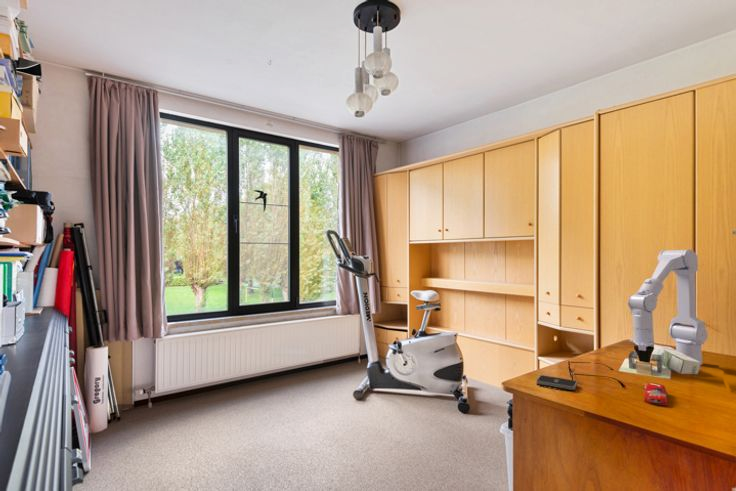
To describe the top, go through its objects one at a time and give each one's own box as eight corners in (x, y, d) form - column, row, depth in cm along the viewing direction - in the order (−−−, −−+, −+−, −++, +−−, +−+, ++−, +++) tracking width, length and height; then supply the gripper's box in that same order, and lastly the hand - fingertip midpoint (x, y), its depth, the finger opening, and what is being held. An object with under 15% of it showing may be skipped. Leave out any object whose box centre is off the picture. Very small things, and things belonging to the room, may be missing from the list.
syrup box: (701, 362, 123) (669, 346, 138) (683, 359, 124) (653, 343, 138) (697, 378, 124) (665, 360, 138) (679, 375, 124) (649, 358, 139)
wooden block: (638, 369, 130) (637, 361, 130) (652, 371, 127) (651, 362, 127) (636, 373, 126) (636, 364, 126) (651, 375, 123) (650, 366, 123)
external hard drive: (541, 380, 125) (540, 374, 125) (578, 387, 119) (577, 380, 119) (536, 386, 120) (536, 380, 120) (574, 393, 113) (574, 387, 113)
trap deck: (625, 362, 144) (625, 358, 144) (671, 368, 135) (671, 364, 135) (618, 375, 129) (618, 370, 129) (670, 383, 119) (670, 378, 119)
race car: (667, 409, 100) (667, 394, 100) (643, 404, 104) (642, 390, 104) (668, 394, 111) (667, 381, 111) (645, 390, 114) (645, 377, 114)
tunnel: (631, 363, 138) (630, 351, 138) (662, 367, 132) (661, 355, 132) (629, 368, 132) (628, 355, 132) (661, 372, 126) (660, 359, 126)
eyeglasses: (566, 370, 137) (566, 359, 137) (617, 375, 130) (616, 363, 130) (570, 383, 122) (569, 371, 122) (627, 390, 115) (626, 377, 115)
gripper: (631, 324, 138) (633, 360, 138) (627, 330, 127) (628, 369, 127) (655, 326, 133) (656, 363, 133) (652, 332, 122) (654, 373, 122)
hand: (644, 367), depth 129 cm, fingers closed
